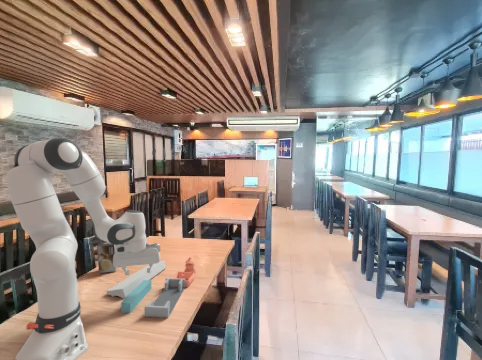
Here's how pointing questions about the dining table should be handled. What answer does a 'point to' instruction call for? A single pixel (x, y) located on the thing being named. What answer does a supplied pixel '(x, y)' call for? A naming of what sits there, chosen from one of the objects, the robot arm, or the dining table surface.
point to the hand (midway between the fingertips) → (138, 273)
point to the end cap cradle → (166, 299)
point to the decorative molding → (136, 280)
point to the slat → (135, 296)
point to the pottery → (187, 272)
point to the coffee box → (106, 257)
